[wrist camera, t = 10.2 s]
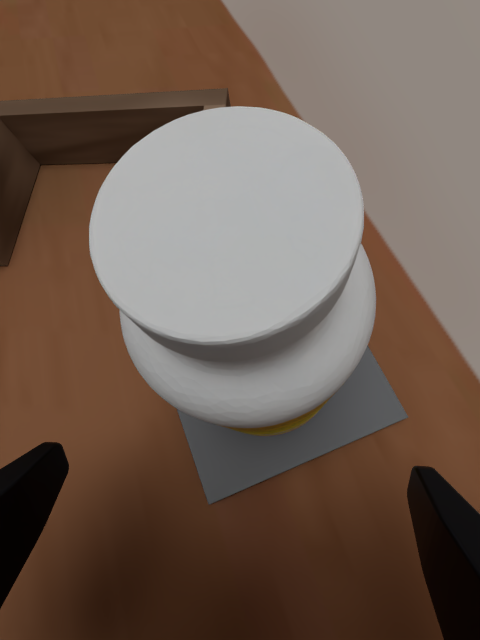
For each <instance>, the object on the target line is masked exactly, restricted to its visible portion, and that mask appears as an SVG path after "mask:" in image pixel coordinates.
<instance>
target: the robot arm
mask: <svg viewBox="0 0 480 640" xmlns="http://www.w3.org/2000/svg"><path fill="white" fill-rule="evenodd" d="M68 470H69V464H68V461H67V458H66V455H65V452H64V450H63V447H62V445H61V444H60V443H57V442H44V443H42V444H40V445H39V446H37V447H35V448H34V449H32V450H31V451H29V452H27V453H26V454H24V455H22V456H21V457H19V458H18V459H16V460H14V461H13V462H11V463H10V464H8V465H6V466H5V467H3V468H2V469H0V608H1V606H2V605H3V603H4V601H5V599H6V597H7V595H8V594H9V592H10V590H11V588H12V586H13V584H14V583H15V581H16V579H17V577H18V575H19V573H20V572H21V570H22V568H23V566H24V564H25V562H26V560H27V559H28V557H29V555H30V553H31V551H32V549H33V548H34V546H35V544H36V542H37V540H38V538H39V536H40V534H41V533H42V531H43V528H44V526H45V524H46V522H47V520H48V518H49V515H50V513H51V511H52V508H53V506H54V504H55V501H56V499H57V497H58V495H59V492H60V490H61V488H62V485H63V483H64V481H65V478H66V476H67V474H68ZM407 498H408V504H409V508H410V513H411V518H412V523H413V528H414V533H415V537H416V542H417V547H418V552H419V557H420V561H421V566H422V570H423V574H424V577H425V581H426V584H427V587H428V590H429V594H430V597H431V600H432V603H433V606H434V609H435V613H436V616H437V619H438V622H439V625H440V628H441V632H442V635H443V638H444V640H480V514H479V513H478V512H477V511H476V510H475V509H474V508H473V507H472V506H471V505H470V504H469V503H468V502H467V501H466V500H465V499H464V498H463V497H462V496H461V495H460V494H459V493H458V492H457V491H456V490H455V489H454V488H453V487H452V486H451V485H450V484H449V483H448V482H447V481H446V480H445V479H444V478H443V477H442V476H441V475H440V474H439V473H438V472H437V471H436V470H435V469H433V468H432V467H426V466H414V467H413V468H412V471H411V475H410V480H409V484H408V489H407Z"/></svg>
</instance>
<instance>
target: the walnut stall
mask: <svg viewBox="0 0 480 640" xmlns="http://www.w3.org/2000/svg"><path fill="white" fill-rule="evenodd" d="M220 107H231V106H230V100H229V94H228V88H225V89H207V90H189V91H171V92H153V93H135V94H117V95H99V96H81V97H63V98H46V99H28V100H10V101H0V266H8V263H9V260H10V257H11V254H12V251H13V248H14V245H15V241H16V238H17V235H18V232H19V229H20V226H21V223H22V220H23V217H24V214H25V211H26V207H27V204H28V201H29V198H30V195H31V192H32V189H33V186H34V183H35V180H36V176H37V173H38V170H39V167H40V165H49V164H86V163H117V162H118V161H119V160H120V159H121V157H122V156H123V155H124V154H125V153H126V152H127V151H128V150H129V149H130V148H131V147H132V146H133V145H135V144H136V143H137V142H139V141H140V140H142V139H143V138H144V137H146V136H147V135H148V134H150V133H151V132H153V131H154V130H156V129H158V128H160V127H162V126H163V125H165V124H167V123H169V122H171V121H173V120H175V119H178V118H181V117H183V116H186V115H189V114H192V113H196V112H199V111H203V110H208V109H214V108H220Z"/></svg>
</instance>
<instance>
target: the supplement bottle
mask: <svg viewBox="0 0 480 640" xmlns="http://www.w3.org/2000/svg"><path fill="white" fill-rule="evenodd" d="M363 228H364V206H363V197H362V193H361V188H360V185H359V182H358V179H357V176H356V174H355V172H354V170H353V168H352V166H351V164H350V162H349V161H348V159H347V158H346V157H345V155H344V154H343V153H342V151H341V150H340V149H339V148H338V146H337V145H336V144H335V143H334V142H333V141H331V140H330V139H329V138H328V137H327V136H326V135H325V134H323V133H322V132H321V131H319V130H317V129H316V128H314V127H313V126H311V125H309V124H308V123H306V122H304V121H302V120H300V119H298V118H296V117H294V116H291V115H288V114H286V113H283V112H279V111H275V110H270V109H265V108H259V107H241V106H237V107H220V108H214V109H208V110H203V111H199V112H196V113H192V114H189V115H186V116H183V117H181V118H178V119H175V120H173V121H171V122H169V123H167V124H165V125H163V126H162V127H160V128H158V129H156V130H154V131H153V132H151V133H150V134H148V135H147V136H146V137H144V138H143V139H142V140H140V141H139V142H137V143H136V144H135V145H133V146H132V147H131V148H130V149H129V150H128V151H127V152H126V153H125V154H124V155H123V156H122V157H121V159H120V160H119V161H118V162H117V163H116V165H115V166H114V167H113V168H112V170H111V171H110V173H109V174H108V176H107V177H106V179H105V181H104V183H103V184H102V186H101V188H100V190H99V192H98V195H97V198H96V200H95V203H94V207H93V210H92V214H91V219H90V225H89V247H90V255H91V258H92V262H93V265H94V269H95V272H96V274H97V277H98V279H99V282H100V283H101V285H102V287H103V288H104V290H105V291H106V293H107V295H108V296H109V298H110V299H111V300H112V302H113V303H114V304H115V305H116V306H117V307H118V308H119V309H120V322H121V328H122V333H123V337H124V341H125V344H126V347H127V350H128V353H129V355H130V357H131V359H132V361H133V363H134V365H135V367H136V368H137V370H138V372H139V373H140V374H141V376H142V377H143V378H144V380H145V381H146V382H147V383H148V385H149V386H150V387H151V388H152V389H153V390H154V391H155V392H156V393H157V394H159V395H160V396H161V397H162V398H163V399H164V400H166V401H167V402H168V403H170V404H171V405H172V406H174V407H175V408H177V409H179V410H180V411H182V412H184V413H186V414H188V415H190V416H193V417H195V418H197V419H200V420H203V421H205V422H208V423H212V424H215V425H219V426H223V427H226V428H229V429H232V430H236V431H238V432H242V433H246V434H250V435H256V436H274V435H280V434H284V433H287V432H290V431H292V430H295V429H297V428H299V427H300V426H302V425H304V424H305V423H307V422H308V421H309V420H310V419H311V418H312V417H314V416H315V415H316V414H317V412H318V411H319V410H320V409H321V408H322V407H323V406H324V404H326V402H327V401H328V400H329V399H330V398H331V397H332V396H333V395H334V394H335V393H336V392H337V390H338V389H339V388H340V387H341V386H342V385H343V384H344V383H345V381H346V380H347V379H348V378H349V376H350V375H351V374H352V372H353V371H354V369H355V368H356V366H357V365H358V363H359V362H360V360H361V358H362V356H363V354H364V352H365V350H366V348H367V345H368V342H369V340H370V337H371V333H372V330H373V325H374V319H375V310H376V292H375V284H374V278H373V273H372V269H371V266H370V263H369V260H368V257H367V255H366V253H365V251H364V248H363V246H362V244H361V239H362V233H363Z"/></svg>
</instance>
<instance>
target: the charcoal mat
mask: <svg viewBox="0 0 480 640" xmlns="http://www.w3.org/2000/svg"><path fill="white" fill-rule="evenodd" d="M177 411H178V414H179V417H180V420H181V423H182V426H183V429H184V432H185V435H186V438H187V441H188V444H189V447H190V450H191V453H192V456H193V459H194V462H195V465H196V468H197V471H198V474H199V477H200V480H201V483H202V486H203V489H204V492H205V495H206V498H207V501H208V504H211V503H214V502H216V501H218V500H221V499H223V498H225V497H227V496H230V495H232V494H234V493H236V492H239V491H241V490H243V489H246V488H248V487H250V486H252V485H255V484H257V483H259V482H262V481H264V480H266V479H268V478H271V477H273V476H275V475H277V474H280V473H282V472H284V471H287V470H289V469H291V468H293V467H296V466H298V465H300V464H303V463H305V462H307V461H309V460H312V459H314V458H316V457H318V456H321V455H323V454H325V453H328V452H330V451H332V450H334V449H337V448H339V447H341V446H343V445H346V444H348V443H350V442H353V441H355V440H357V439H359V438H362V437H364V436H366V435H369V434H371V433H373V432H375V431H378V430H380V429H382V428H384V427H387V426H389V425H391V424H394V423H396V422H398V421H400V420H403V419H405V418H407V417H408V416H407V414H406V412H405V411H404V409H403V407H402V405H401V404H400V402H399V400H398V398H397V396H396V395H395V393H394V391H393V389H392V388H391V386H390V384H389V382H388V381H387V379H386V377H385V375H384V374H383V372H382V370H381V368H380V366H379V365H378V363H377V361H376V359H375V358H374V356H373V354H372V352H371V351H370V349H369V347H368V345H367V348H366V350H365V352H364V354H363V356H362V358H361V360H360V362H359V363H358V365H357V366H356V368H355V369H354V371H353V372H352V374H351V375H350V376H349V378H348V379H347V380H346V381H345V383H344V384H343V385H342V386H341V387H340V388H339V389H338V390H337V392H336V393H335V394H334V395H333V396H332V397H331V398H330V399H329V400H328V401H327V402H326V404H324V406H323V407H322V408H321V409H320V410H319V411H318V412H317V414H316V415H315V416H314V417H312V418H311V419H310V420H309V421H308V422H307V423H305V424H304V425H302V426H300V427H299V428H297V429H295V430H292V431H290V432H287V433H284V434H280V435H274V436H256V435H250V434H246V433H242V432H238V431H236V430H232V429H229V428H226V427H223V426H219V425H215V424H212V423H208V422H205V421H203V420H200V419H197V418H195V417H193V416H190V415H188V414H186V413H184V412H182V411H180V410H179V409H177Z"/></svg>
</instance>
